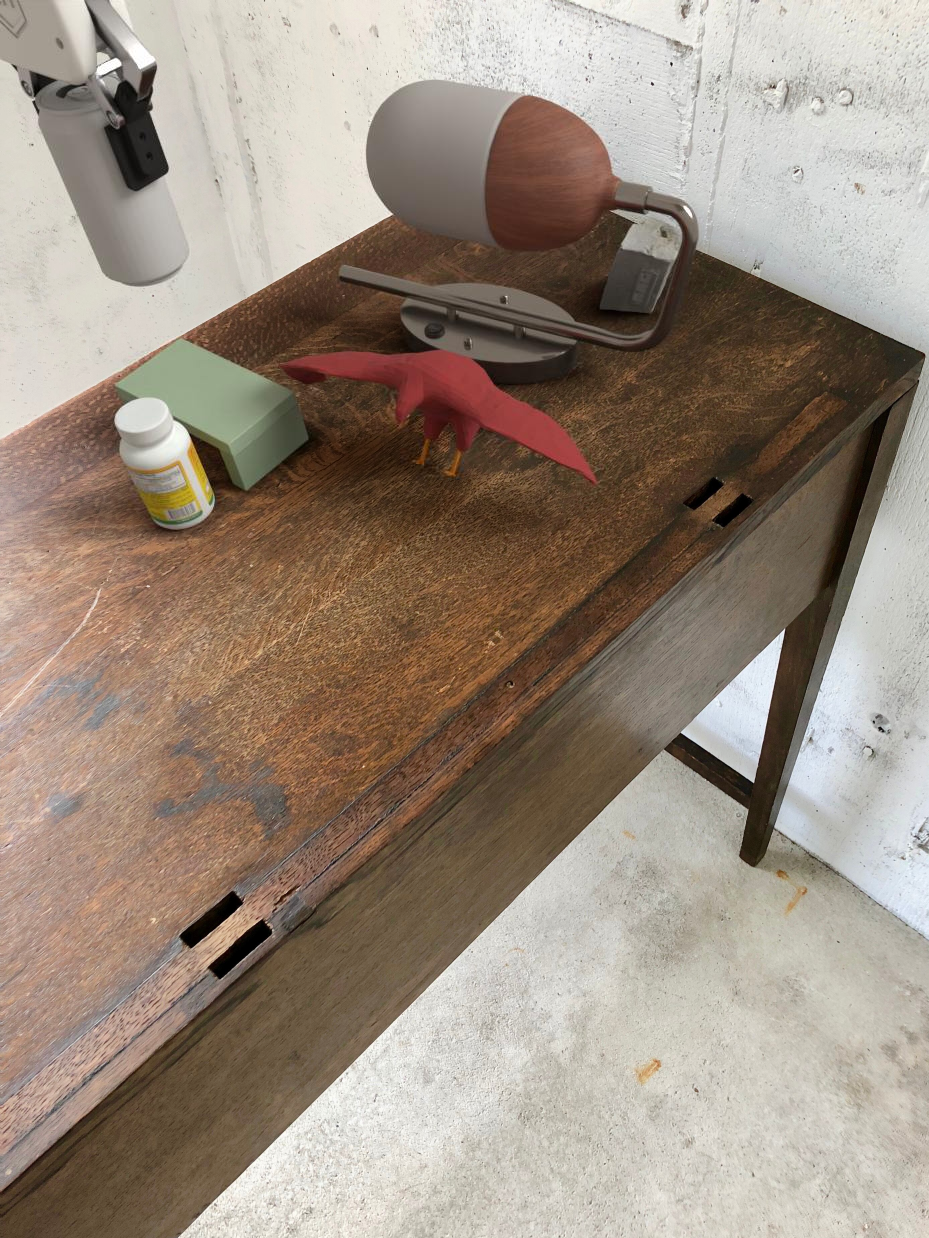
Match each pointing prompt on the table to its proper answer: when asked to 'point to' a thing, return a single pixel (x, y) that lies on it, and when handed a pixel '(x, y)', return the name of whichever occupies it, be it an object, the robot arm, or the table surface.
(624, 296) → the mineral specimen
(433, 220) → the light fixture
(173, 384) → the shelf
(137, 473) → the supplement bottle
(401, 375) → the decorative bird sculpture
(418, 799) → the table surface
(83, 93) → the beverage can
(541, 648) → the table surface
